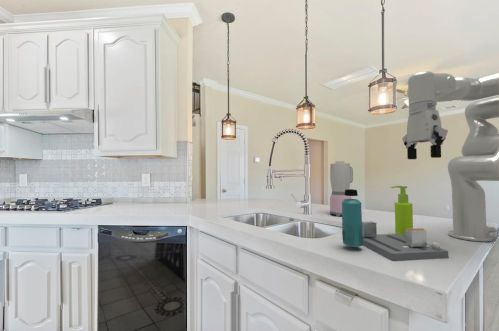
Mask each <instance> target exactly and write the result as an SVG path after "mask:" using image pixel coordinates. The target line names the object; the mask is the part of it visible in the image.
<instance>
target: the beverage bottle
mask: <svg viewBox="0 0 499 331" xmlns="http://www.w3.org/2000/svg"><path fill="white" fill-rule="evenodd" d="M345 196H351V197H358V196H359V195H358V190H357V189H354V188H349V189H347V190H345ZM362 222H363V214H362V202H361V201H360V200H359V199H357V198H352V199H344V200H343V201H342V215H341V225H342V229H341V235H342V237H341V239H342V244H343V245H345V246H348V247H354V248H359V247H362V246H363V245H362V244H363V236H362V230H363V223H362Z"/></svg>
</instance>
